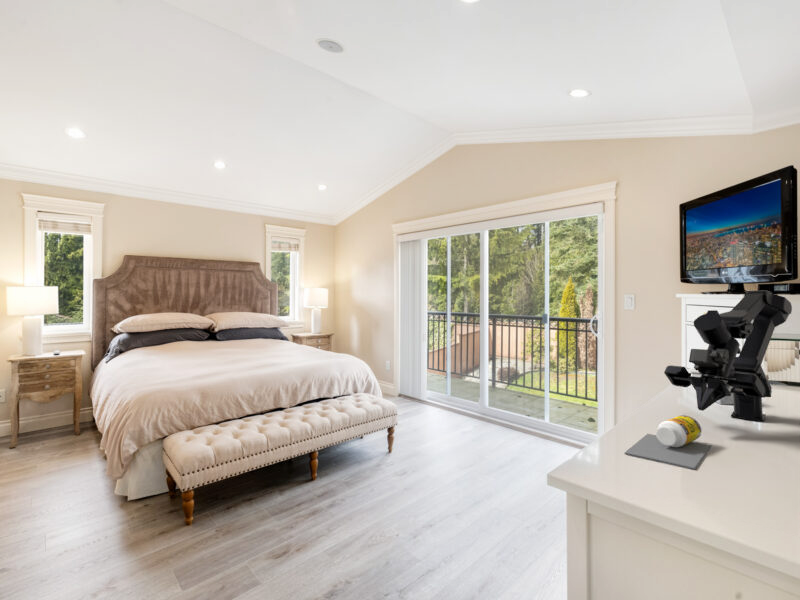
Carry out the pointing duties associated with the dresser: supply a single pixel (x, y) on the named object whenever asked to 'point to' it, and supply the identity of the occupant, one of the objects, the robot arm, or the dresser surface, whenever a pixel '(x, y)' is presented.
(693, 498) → the dresser surface
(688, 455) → the mat
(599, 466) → the dresser surface
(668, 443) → the supplement bottle
